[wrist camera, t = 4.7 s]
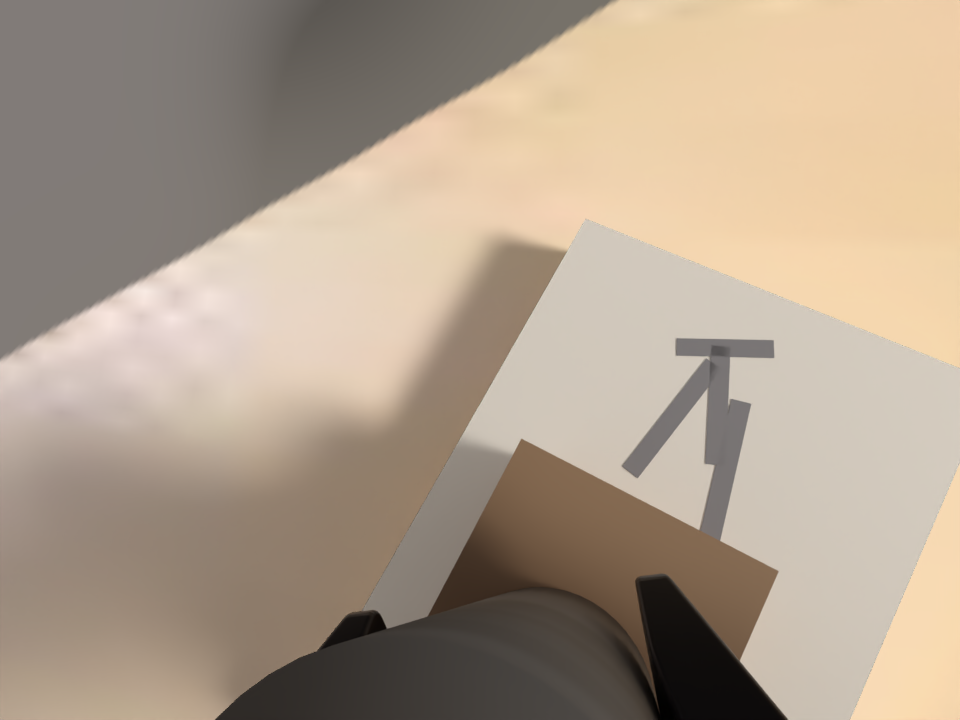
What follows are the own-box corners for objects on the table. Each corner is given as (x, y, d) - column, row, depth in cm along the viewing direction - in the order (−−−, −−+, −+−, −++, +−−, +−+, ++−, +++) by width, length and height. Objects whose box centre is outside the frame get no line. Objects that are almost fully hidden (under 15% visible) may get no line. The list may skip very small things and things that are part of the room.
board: (669, 1034, 12) (679, 1121, 10) (313, 743, 15) (270, 770, 13) (945, 404, 14) (995, 381, 13) (589, 255, 17) (585, 218, 15)
